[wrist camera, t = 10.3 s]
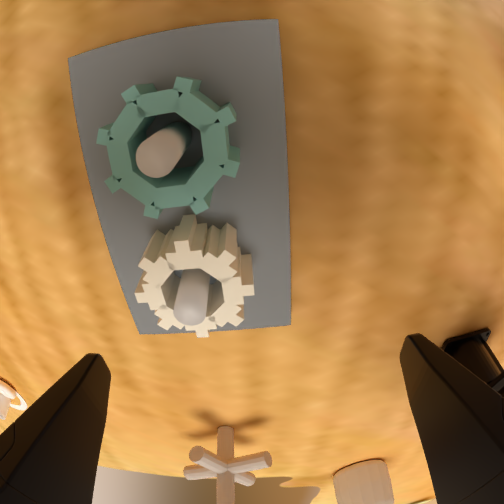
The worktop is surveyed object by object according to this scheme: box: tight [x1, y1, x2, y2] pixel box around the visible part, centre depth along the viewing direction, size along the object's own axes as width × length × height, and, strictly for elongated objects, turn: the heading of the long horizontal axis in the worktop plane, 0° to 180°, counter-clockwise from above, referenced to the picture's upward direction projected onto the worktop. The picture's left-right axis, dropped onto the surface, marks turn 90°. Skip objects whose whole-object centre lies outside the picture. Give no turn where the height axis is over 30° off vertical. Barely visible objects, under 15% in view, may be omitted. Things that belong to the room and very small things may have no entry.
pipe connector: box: [183, 426, 272, 504], centre depth 28 cm, size 10×10×10 cm
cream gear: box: [135, 214, 254, 338], centre depth 18 cm, size 6×6×3 cm
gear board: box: [68, 19, 291, 334], centre depth 16 cm, size 11×19×6 cm, turn 4°
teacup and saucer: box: [0, 380, 27, 420], centre depth 29 cm, size 9×8×4 cm
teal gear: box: [96, 77, 240, 219], centre depth 14 cm, size 6×6×3 cm
